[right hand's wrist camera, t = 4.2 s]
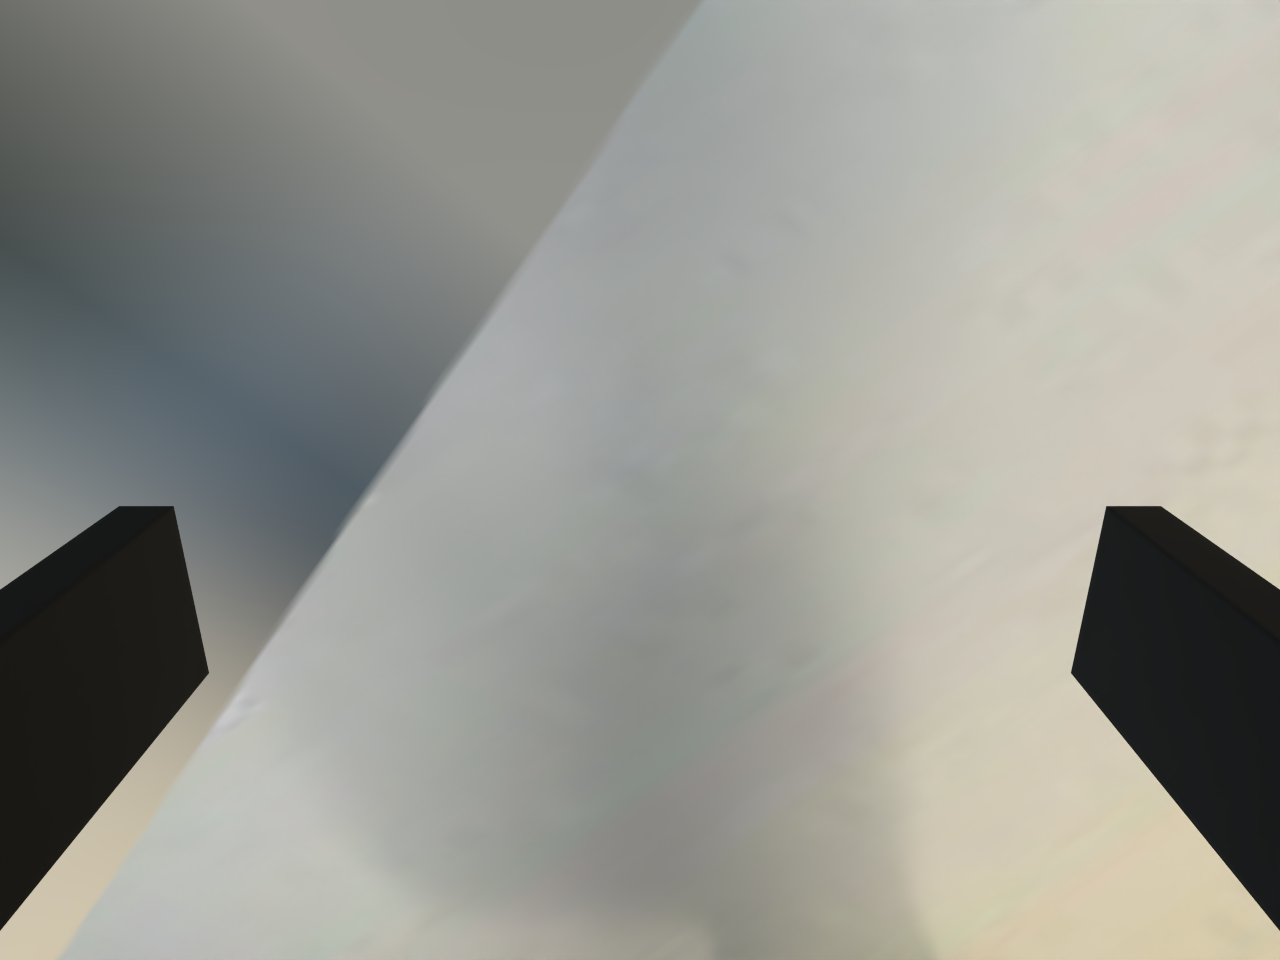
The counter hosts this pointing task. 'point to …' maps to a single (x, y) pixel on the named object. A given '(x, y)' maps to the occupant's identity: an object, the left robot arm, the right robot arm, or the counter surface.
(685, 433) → the counter surface
